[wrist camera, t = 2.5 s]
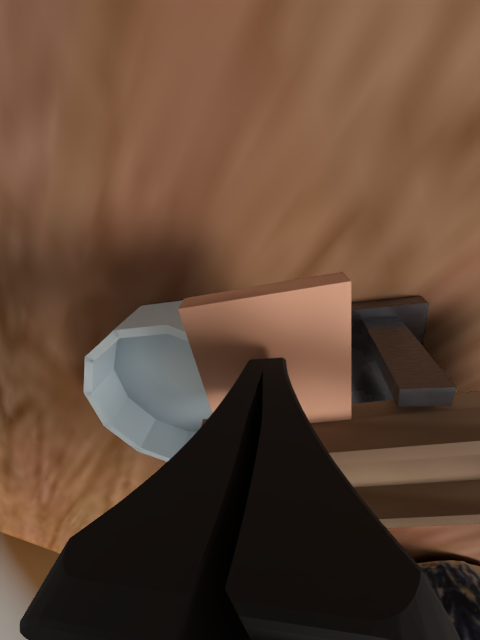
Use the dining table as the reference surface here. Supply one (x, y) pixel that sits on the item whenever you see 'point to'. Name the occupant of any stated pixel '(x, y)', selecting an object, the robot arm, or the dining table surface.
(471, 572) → the jug
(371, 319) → the stand
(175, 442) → the bowl
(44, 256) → the dining table surface
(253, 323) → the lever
